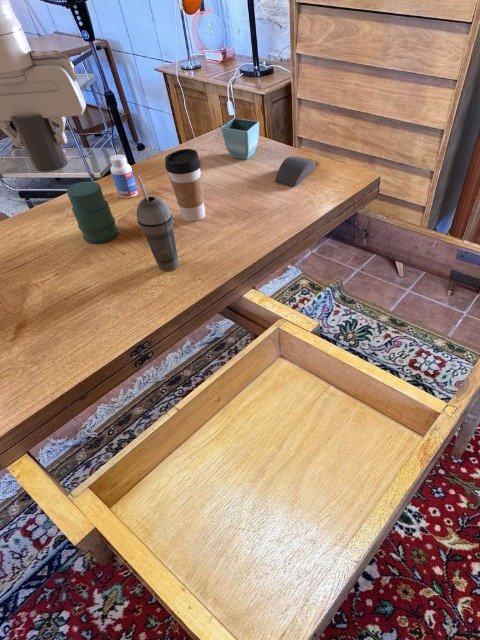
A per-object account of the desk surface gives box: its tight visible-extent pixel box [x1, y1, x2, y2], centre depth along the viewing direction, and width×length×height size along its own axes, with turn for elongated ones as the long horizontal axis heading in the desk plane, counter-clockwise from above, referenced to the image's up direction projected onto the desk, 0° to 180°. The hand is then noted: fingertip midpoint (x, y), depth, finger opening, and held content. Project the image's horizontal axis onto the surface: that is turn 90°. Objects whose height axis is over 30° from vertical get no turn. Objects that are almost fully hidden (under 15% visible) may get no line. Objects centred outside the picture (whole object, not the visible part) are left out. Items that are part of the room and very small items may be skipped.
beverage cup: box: [136, 174, 179, 272], centre depth 93 cm, size 7×7×20 cm
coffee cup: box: [164, 148, 206, 222], centre depth 109 cm, size 8×8×15 cm
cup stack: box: [66, 180, 120, 245], centre depth 106 cm, size 9×9×12 cm
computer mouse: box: [274, 156, 316, 188], centre depth 128 cm, size 8×14×4 cm, turn 152°
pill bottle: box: [109, 154, 139, 199], centre depth 120 cm, size 6×5×10 cm
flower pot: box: [220, 117, 260, 161], centre depth 135 cm, size 9×9×9 cm
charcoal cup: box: [11, 115, 68, 173], centre depth 82 cm, size 6×6×9 cm
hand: (42, 144), depth 83 cm, fingers closed on charcoal cup, 6 cm apart
